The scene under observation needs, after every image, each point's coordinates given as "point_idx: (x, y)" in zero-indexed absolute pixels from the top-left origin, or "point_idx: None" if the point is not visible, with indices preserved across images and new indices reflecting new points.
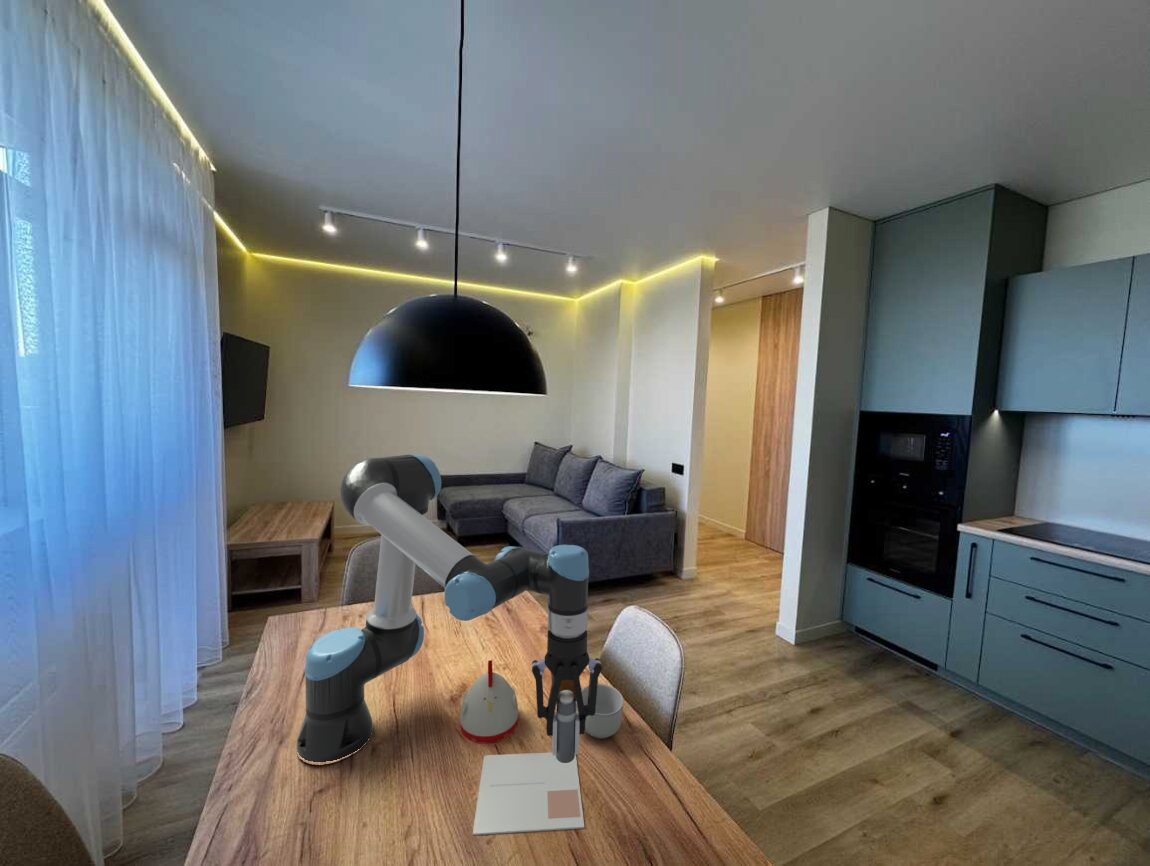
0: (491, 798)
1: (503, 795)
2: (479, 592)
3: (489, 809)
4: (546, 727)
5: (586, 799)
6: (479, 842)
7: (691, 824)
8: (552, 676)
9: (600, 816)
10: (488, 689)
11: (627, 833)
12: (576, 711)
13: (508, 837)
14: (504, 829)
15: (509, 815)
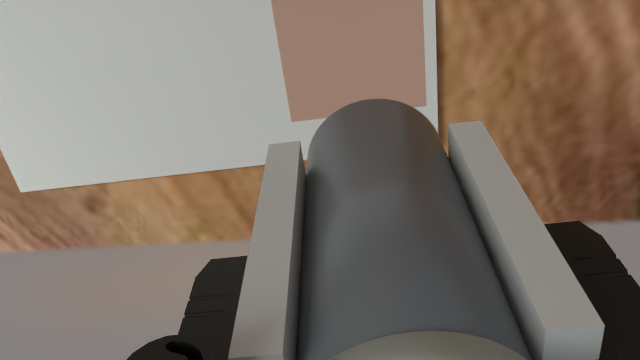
0: (13, 42)
1: (61, 23)
2: None
3: (32, 96)
4: (194, 291)
5: (460, 7)
6: (61, 209)
7: None
8: None
9: (511, 88)
10: None
11: (602, 150)
12: (577, 336)
13: (155, 188)
14: (130, 171)
15: (128, 116)
